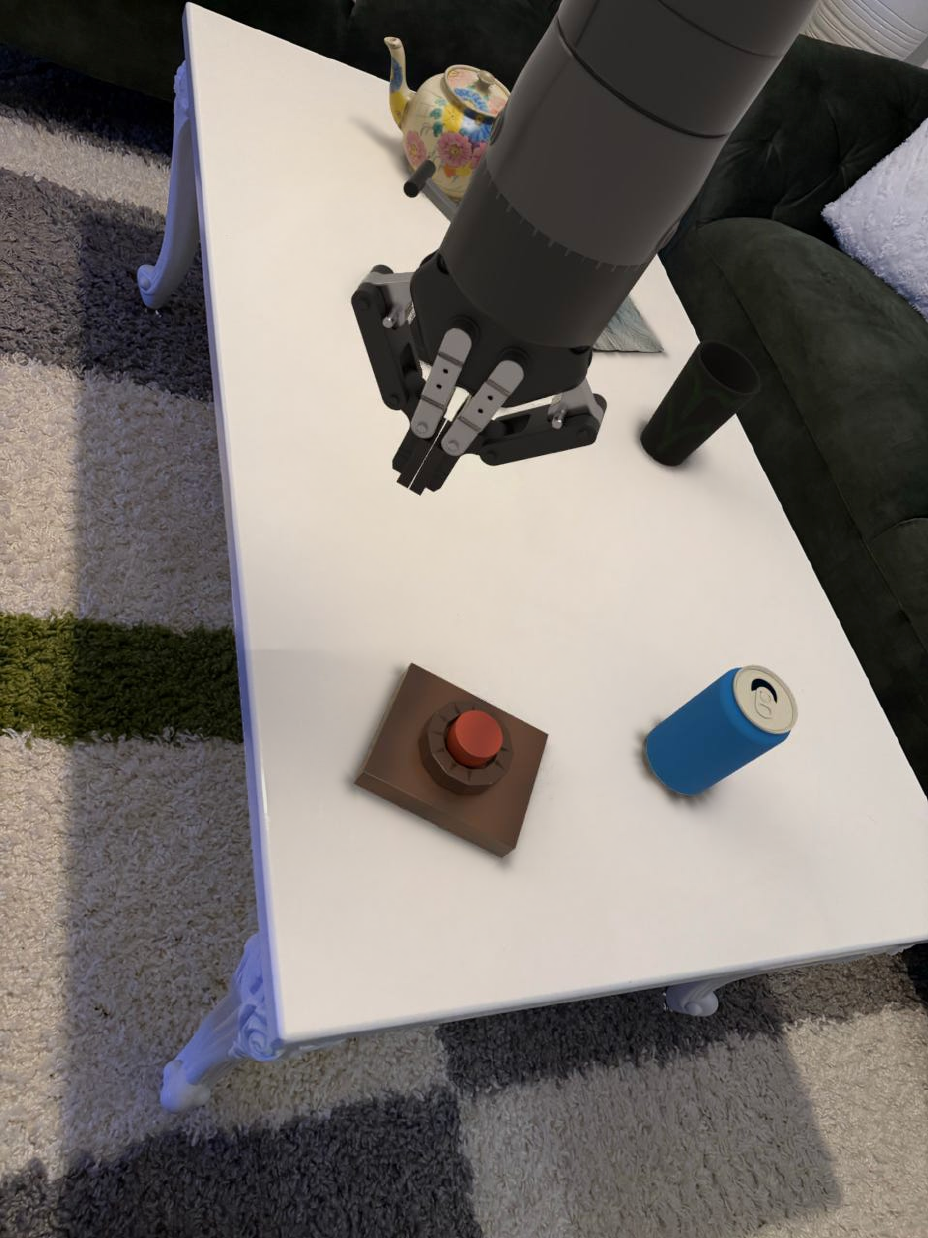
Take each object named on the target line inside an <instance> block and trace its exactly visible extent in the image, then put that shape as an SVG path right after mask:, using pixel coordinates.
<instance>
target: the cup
mask: <svg viewBox="0 0 928 1238" xmlns="http://www.w3.org/2000/svg"><path fill="white" fill-rule="evenodd" d="M761 387H762V382H761V377H760V374H759V372H758V370H757V369H756V367H755V366H754V364H753V363H752V361H750V360H749V359H748V357H747V356H746V355H744V353H742V351H739V350H738V349H737V348H735V347H733V346H731V345H730V344H728V343H727V342H723V341H720V340H716V339H705V340H702V341H700V342H699V343H698V344H697V345H696V347H695V349H694V350H693V352H692V354H691V355H690V356H689V358H688V359H687V361H686V363H685V365H683V367H682V369H681V370H680V372H679V374H678V375H677V377H676V378H675V380H674V381H673V383H672V385H671V386H670V388H669V389H668V391H667V392H666V394H665V395H664V397H663V398H662V400H661V401H660V403H659V405H658V406H657V408H656V409H655V411H654V412H653V414H652V415H651V417H650V418H649V420H648V421H647V423H646V425H645V426H644V428H643V430H642V431H641V434H640V443H641V445H642V447H643V449H644V451H645V452H646V454H648V455H649V456H650V457H651V458H652V459H653V460H654V461H656V462H658V463H660V464H661V465H663V466H667V467H678V466H680V465H682V464H683V463H684V462H685V461H686V460H687V459H688V458H689V457H690V456H691V455H692V454H693V453H695V452H696V451H697V450H698V449H699V448H700V447H701V446H702V445H703V444H704V443H706V441H707V440H709V439H710V438H711V437H712V436H713V435H714V434H715V433H716V432H717V431H718V430H719V429H720V428H721V427H723V426H724V425H725V424H726V423H727V422H728V421H730V419H732V418H733V417H734V416H735V415H736V414H737V413H738V412H739V411H740V410H741V409H742V408H743V407H744V406H745V405H747V403H749V402H750V401H751V400H752V399H753V398H755V396H757V394H758V393H759V392H760V391H761Z"/></svg>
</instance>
